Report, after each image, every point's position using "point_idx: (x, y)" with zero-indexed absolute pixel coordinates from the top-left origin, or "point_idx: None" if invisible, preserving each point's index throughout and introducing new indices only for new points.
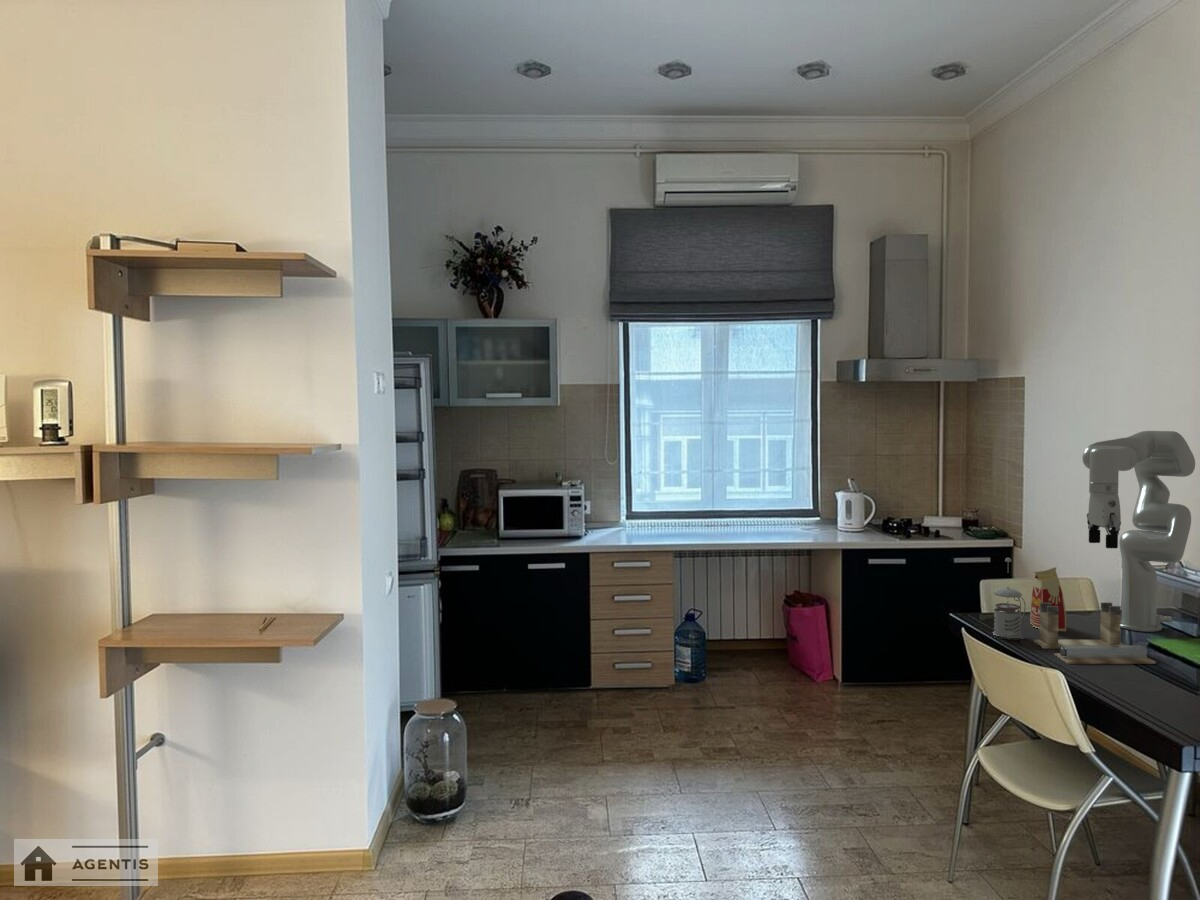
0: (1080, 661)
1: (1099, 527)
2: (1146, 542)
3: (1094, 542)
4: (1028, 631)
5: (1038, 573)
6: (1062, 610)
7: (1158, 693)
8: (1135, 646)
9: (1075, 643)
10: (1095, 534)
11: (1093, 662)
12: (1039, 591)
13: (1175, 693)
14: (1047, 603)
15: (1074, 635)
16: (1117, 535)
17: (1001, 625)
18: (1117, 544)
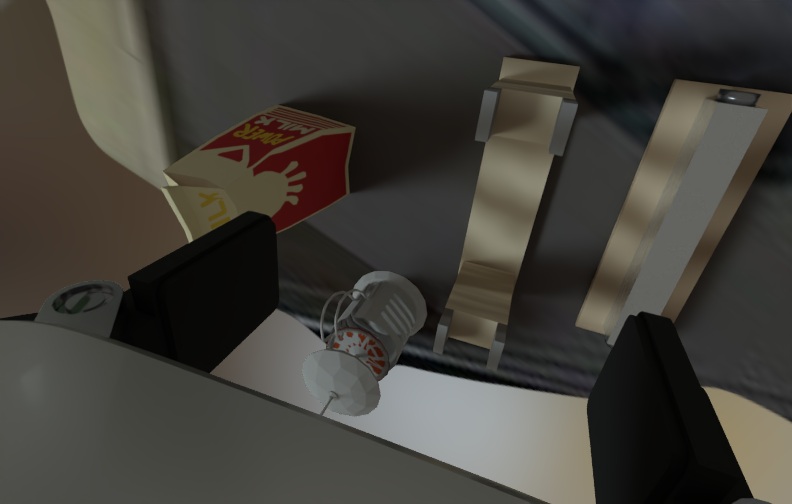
0: (673, 320)
1: (116, 320)
2: None
3: (276, 270)
4: (350, 231)
5: None
6: (314, 145)
7: None
8: (722, 135)
9: (514, 219)
10: (217, 312)
11: (690, 289)
12: None
13: None
14: (445, 337)
15: (401, 133)
16: (732, 473)
17: (394, 350)
18: (677, 345)
